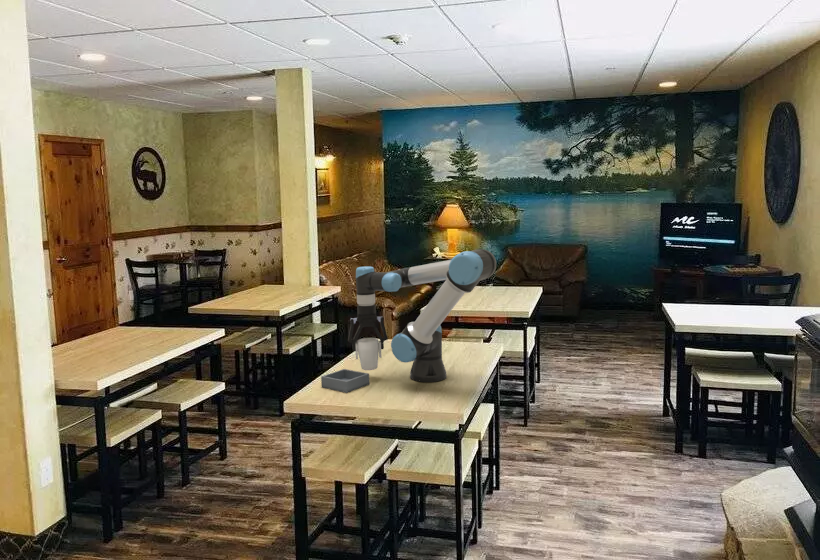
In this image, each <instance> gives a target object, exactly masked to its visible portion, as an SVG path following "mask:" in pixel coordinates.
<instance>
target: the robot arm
mask: <svg viewBox="0 0 820 560" xmlns="http://www.w3.org/2000/svg"><path fill="white" fill-rule="evenodd" d="M496 268H497V260H496V257H495V255H494V254H493V253H492V252H491V251H489V250H487V249H483V248H479V249H474V250H468V251H467V250H466V251H462V252H459V253H457V254H456V255H455V256H454V257H453V258H451V259H448V260H443V261H436V262H430V263H427V264H422V265H415V266H411V267H404V268H399V269H395V270H391V271H390V270H389V271H384V272H383V271H381V272H377V271H375V268H374V267H373V266H370V265H369V266H367V265H366V266H359V267H358V266H357V268H356V270H355V284H356V287H355V288H356V303H357V306H356V307H357V309H356V311H357V312H356V313H357V316H356V317H354V318H352V317H350V319H349V321H350V327H349V331H348V338H347V342H348V343H349V344H352V352H355V360H359V354H358V347H357V340H358V338H359V336H360V334H361V332H362V330H363V328H367V327H368V328H370V327H372V329H373V331H374V332H375V333H376V335H377V337H378V343H379V354H378V358H379V359H382V350H384V349H385V347H384V343H385V341H388V339H389V337H388V334H387V331H386V327H385V325H384V324H385V323H384V322H385V321H384V320H385V319H384V316H382V315H381V316H377V312H376V311H377V310H376V309H377V305H376V304H375V303H376V291H377V292H378V291H379V292H388V293H391V292H398V291H399V289H401V288H406V287H413V286H415V285H422V284H423V285H424V284H428V283H434V282H440V281H444V282H443V283H442V285H441V286H440V287H439V289H438V290H437V292H436V293H435V294H434V296H432V298H431V299H430V300H429V302H428V304H426V306H425V307H424V309H423V310H422V312H421V313H420V314H419V315H418V317H417V318H416V320H415V321H411V322H408V323H407V325H406V326H405V328H404V329H403V330H402V332H400V333H397V334H395V335H394V336H393V338H392V339H391V342H390V348H391V352H392V354H393V356H394V357H395V359H397V361H399V362H401V363H411V362H412V364H411V368H410V372H409V373H410V374H409V378H410V379H411V380H412V381H415V382H420V383H434V382H435V383H436V382H441V381H443V380H445V379H447V371H446V366H445V364H444V361H443V342H442V340H443V336H442V335H443V332H442V326H441V324H442V323H443V322H444V321H445V319H446V318H447V316H449V314H450V313H451V312H452V311H453V309H454V307H455V306H456V305H457V304H458V302H459V301H460V300H461V299H462V297H463V296H464V295H465V294H468V293H471V292H472V291H473V290H474V288H475V287H476V286H477V285H478V284H479V283H480V281H484V280H486V279H489V278H490V277H491V276H493V274H494V273H495V271H496ZM376 321H377V322H379V324H380V328H381V330H382V334H383V336H382V335H381V333H380V332H379V330H378V328H377V326H376V324H375V323H376ZM356 322H358V323H359V325H358V327H357V329H356V332H355V334H354V336H353V333H354V329H355V324H357V323H356Z"/></svg>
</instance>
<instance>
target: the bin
mask: <svg viewBox="0 0 820 560" xmlns="http://www.w3.org/2000/svg"><path fill="white" fill-rule="evenodd" d="M320 381H321V383H320V384H321V385H320V386H321V388H323V389H328V390H332V391H337V392H340V393H346V394H348V393H351V392H354V391H355V390H359V389H362V388H364V387H366V386H369V385H370V373H367V372H362V371H357V370H351V369H347V368H343V369H340V370H337V371H334V372H331V373H327V374H325V375H321V376H320Z"/></svg>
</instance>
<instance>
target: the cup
mask: <svg viewBox="0 0 820 560" xmlns="http://www.w3.org/2000/svg"><path fill="white" fill-rule="evenodd" d="M378 341H379V338H376V337H363V338H359V339H357V341H356V343H357V347H358V360H359V363H360V367H361V370H363V371H372V370H377V368H378V366H379V342H378Z"/></svg>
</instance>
